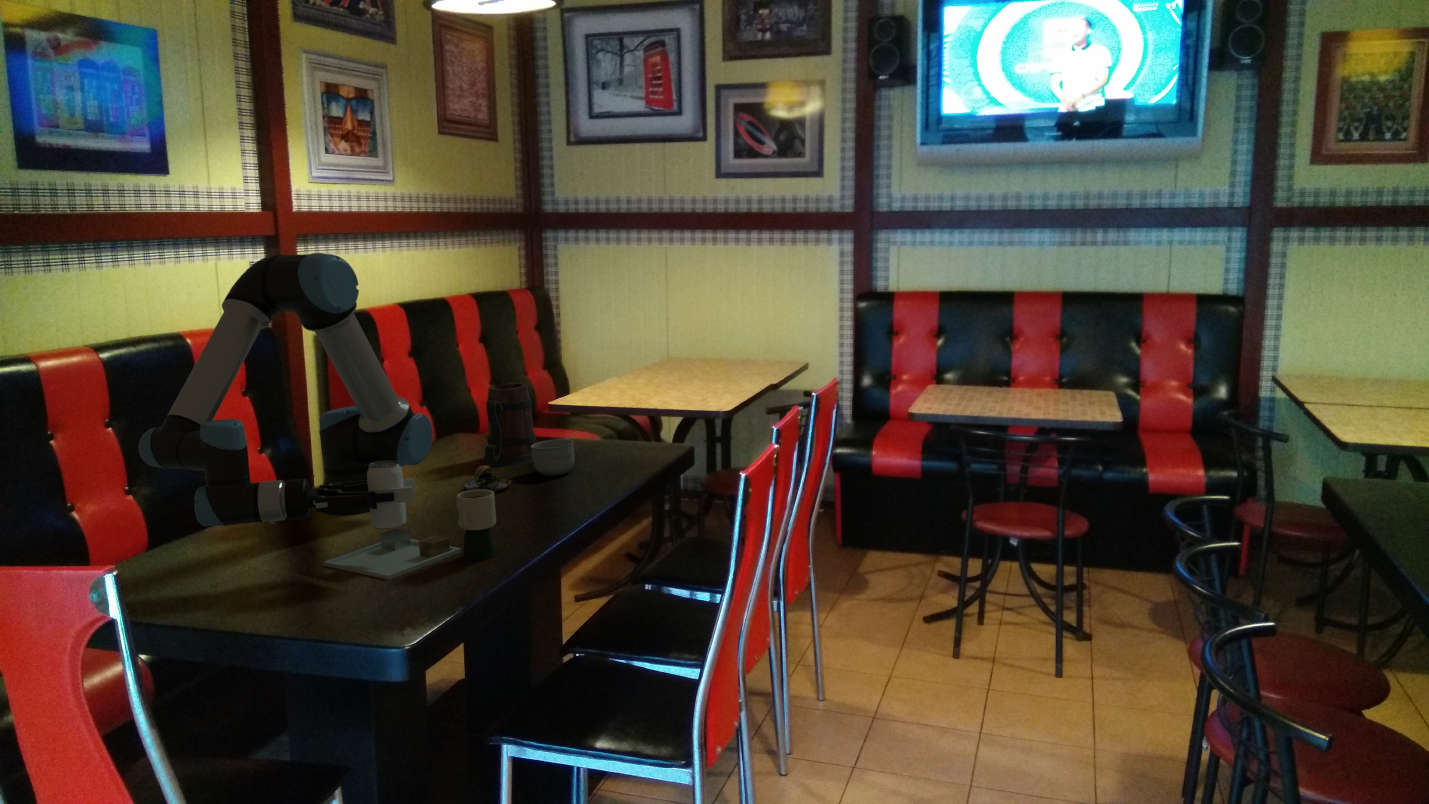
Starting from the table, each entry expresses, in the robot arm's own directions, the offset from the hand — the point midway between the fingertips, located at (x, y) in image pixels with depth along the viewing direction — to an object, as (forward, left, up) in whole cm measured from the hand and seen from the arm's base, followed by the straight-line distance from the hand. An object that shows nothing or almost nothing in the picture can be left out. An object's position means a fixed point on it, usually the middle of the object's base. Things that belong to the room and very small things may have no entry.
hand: (413, 489), depth 211 cm
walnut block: (+2, +2, -13) cm, 14 cm away
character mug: (+10, +6, -14) cm, 19 cm away
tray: (-4, -3, -14) cm, 15 cm away
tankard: (-45, +72, -14) cm, 86 cm away
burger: (-28, +47, -15) cm, 56 cm away
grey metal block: (-9, +2, -13) cm, 16 cm away
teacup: (-24, +68, -14) cm, 73 cm away
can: (-4, -4, -7) cm, 8 cm away
